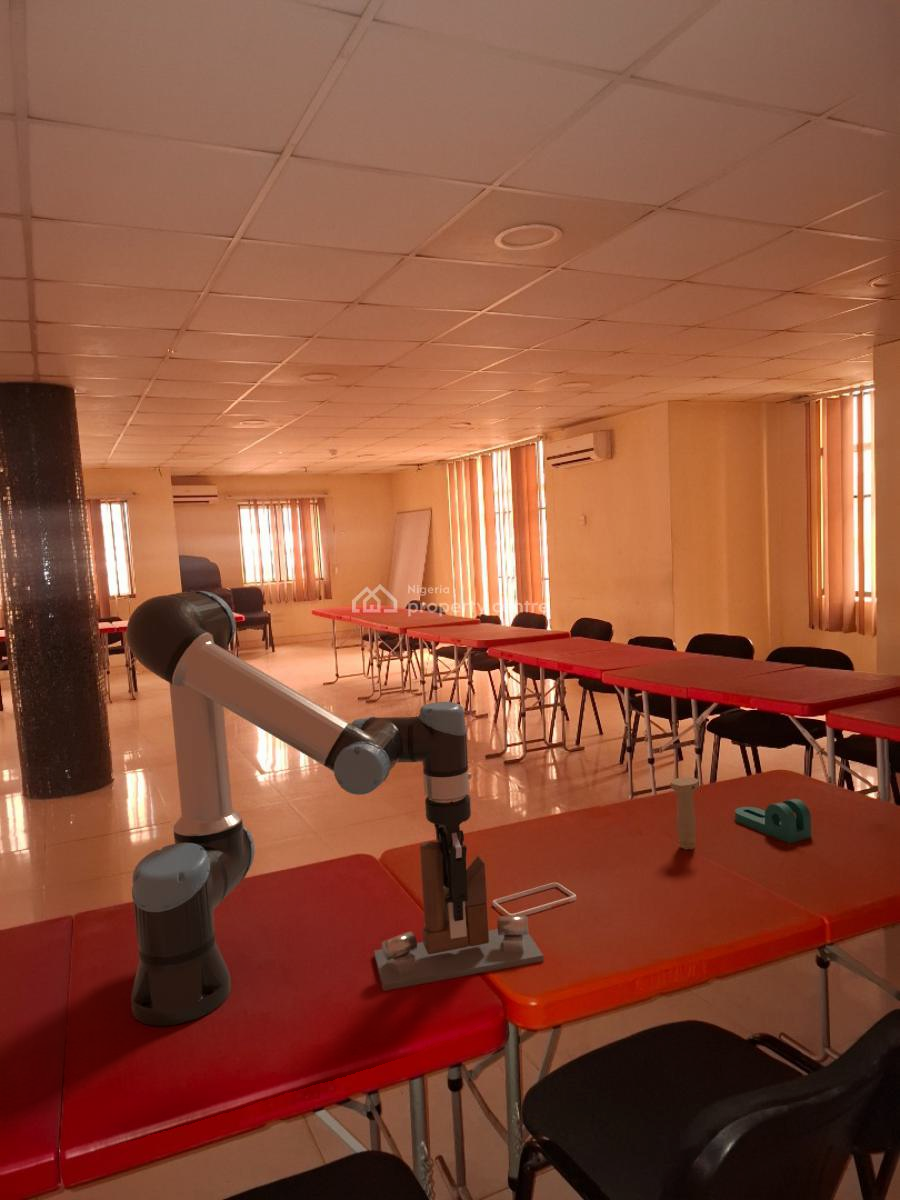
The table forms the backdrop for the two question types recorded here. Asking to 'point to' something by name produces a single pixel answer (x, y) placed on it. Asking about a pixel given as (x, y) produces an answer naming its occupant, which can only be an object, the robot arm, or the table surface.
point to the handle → (685, 810)
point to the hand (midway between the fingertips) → (455, 929)
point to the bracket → (778, 820)
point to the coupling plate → (457, 962)
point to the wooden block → (434, 903)
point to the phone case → (527, 892)
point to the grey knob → (513, 932)
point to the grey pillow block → (400, 952)
